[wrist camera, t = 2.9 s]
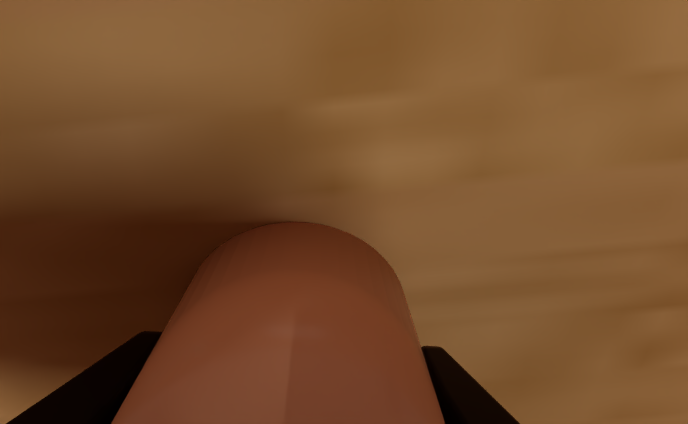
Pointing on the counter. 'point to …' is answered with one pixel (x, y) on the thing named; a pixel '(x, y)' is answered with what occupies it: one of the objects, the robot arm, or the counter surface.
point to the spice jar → (287, 339)
